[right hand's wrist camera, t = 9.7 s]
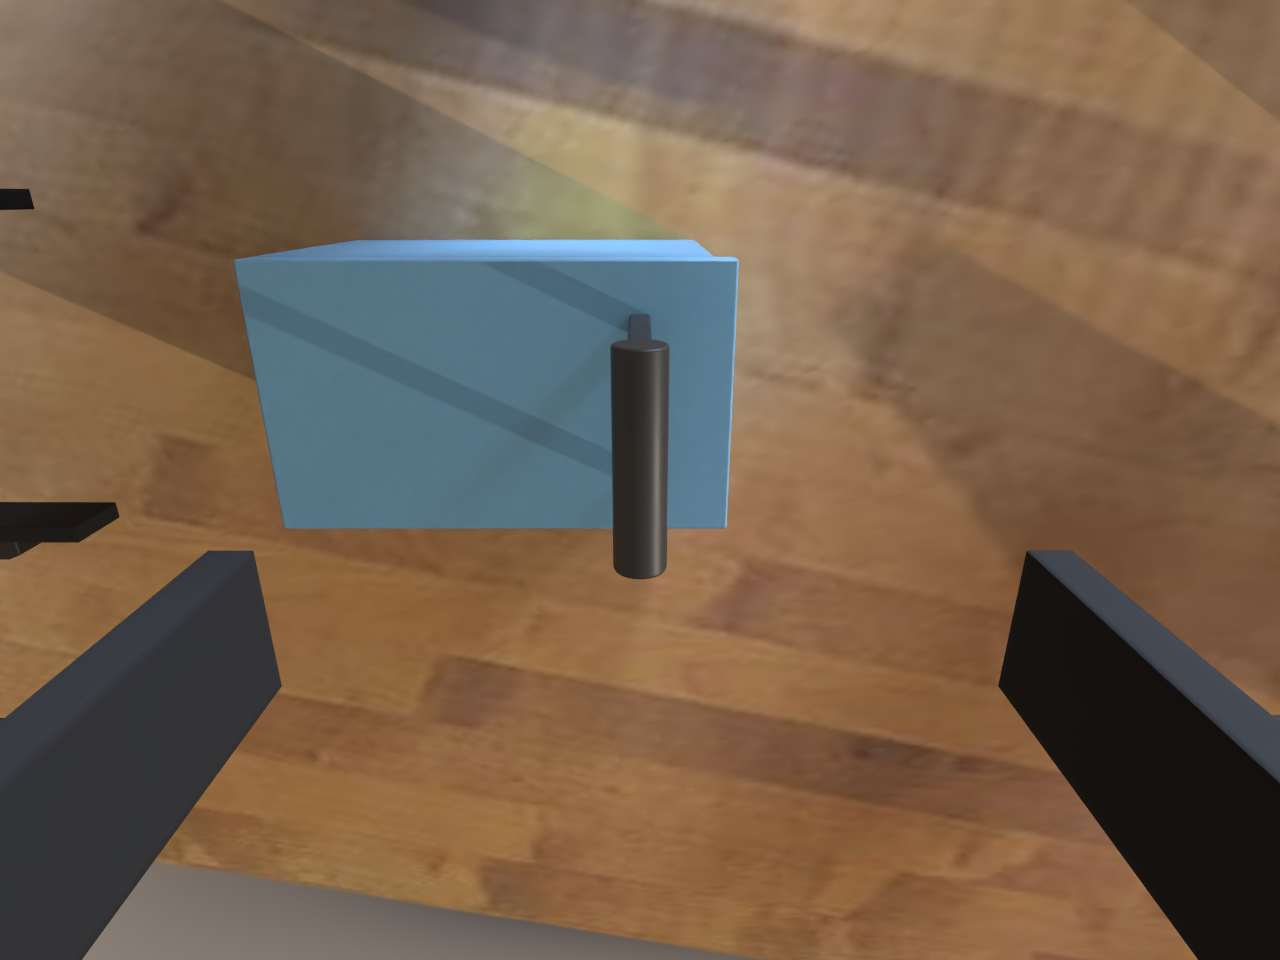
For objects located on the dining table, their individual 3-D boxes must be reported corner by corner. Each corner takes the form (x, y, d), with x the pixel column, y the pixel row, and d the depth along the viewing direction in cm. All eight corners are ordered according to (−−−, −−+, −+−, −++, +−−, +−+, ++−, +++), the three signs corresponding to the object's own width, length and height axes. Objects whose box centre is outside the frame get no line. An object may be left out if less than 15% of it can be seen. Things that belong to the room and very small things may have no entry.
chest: (694, 239, 35) (714, 256, 25) (689, 436, 38) (705, 516, 29) (356, 239, 35) (248, 256, 25) (382, 436, 38) (296, 517, 29)
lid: (735, 256, 25) (775, 282, 18) (723, 517, 29) (752, 630, 21) (248, 256, 25) (84, 282, 18) (296, 517, 29) (176, 630, 21)
